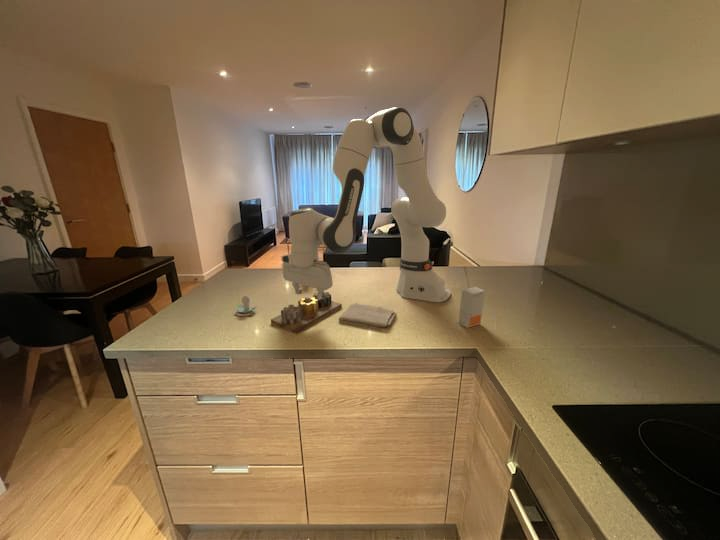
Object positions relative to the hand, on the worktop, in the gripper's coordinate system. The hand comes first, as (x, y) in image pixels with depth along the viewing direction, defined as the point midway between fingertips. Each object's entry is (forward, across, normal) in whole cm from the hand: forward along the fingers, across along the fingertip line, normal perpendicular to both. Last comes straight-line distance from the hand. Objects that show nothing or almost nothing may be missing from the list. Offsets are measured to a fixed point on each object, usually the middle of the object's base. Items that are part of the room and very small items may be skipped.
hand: (308, 296), depth 101 cm
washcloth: (+8, -19, -9) cm, 22 cm away
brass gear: (+6, 0, 0) cm, 6 cm away
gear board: (+7, 0, 0) cm, 7 cm away
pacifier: (+7, +20, +12) cm, 25 cm away
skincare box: (+8, -49, -24) cm, 55 cm away
